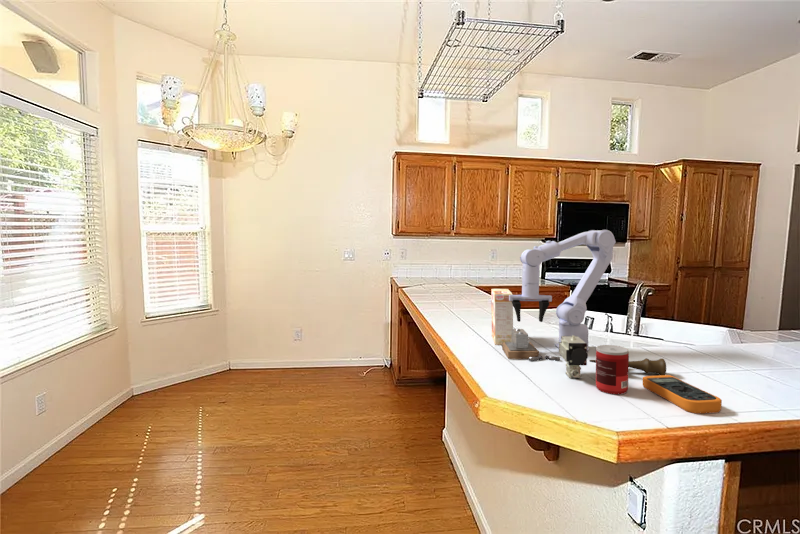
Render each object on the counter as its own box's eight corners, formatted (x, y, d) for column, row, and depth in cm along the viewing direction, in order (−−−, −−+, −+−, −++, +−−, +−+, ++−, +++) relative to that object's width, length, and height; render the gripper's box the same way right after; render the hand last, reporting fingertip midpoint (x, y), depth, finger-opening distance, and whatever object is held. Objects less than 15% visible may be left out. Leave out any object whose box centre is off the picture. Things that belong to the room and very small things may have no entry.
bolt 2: (559, 362, 135) (560, 358, 136) (558, 360, 134) (559, 356, 135) (546, 359, 138) (547, 356, 139) (544, 358, 137) (545, 354, 138)
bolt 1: (539, 359, 138) (540, 355, 138) (542, 361, 137) (542, 357, 136) (528, 360, 137) (528, 356, 136) (530, 362, 135) (531, 358, 135)
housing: (528, 348, 140) (528, 333, 140) (516, 348, 140) (515, 333, 140) (522, 342, 148) (522, 328, 148) (511, 342, 148) (511, 328, 148)
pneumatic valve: (575, 370, 126) (576, 331, 125) (588, 383, 114) (588, 340, 113) (556, 369, 127) (556, 331, 126) (567, 383, 115) (567, 340, 114)
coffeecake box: (491, 335, 171) (490, 288, 170) (508, 335, 170) (508, 288, 169) (494, 345, 156) (493, 293, 155) (513, 345, 155) (513, 293, 154)
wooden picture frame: (530, 349, 150) (530, 341, 149) (539, 359, 138) (539, 350, 137) (502, 349, 150) (502, 341, 150) (508, 359, 138) (508, 350, 138)
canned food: (625, 385, 112) (625, 345, 112) (630, 396, 105) (631, 353, 104) (593, 382, 115) (594, 343, 114) (597, 393, 107) (598, 351, 107)
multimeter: (690, 416, 94) (691, 401, 93) (640, 387, 112) (640, 375, 111) (727, 414, 94) (727, 399, 94) (670, 386, 112) (671, 373, 112)
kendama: (669, 383, 115) (590, 375, 121) (659, 372, 124) (587, 366, 130) (670, 361, 115) (591, 355, 121) (660, 353, 124) (587, 347, 130)
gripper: (548, 282, 150) (547, 319, 151) (507, 281, 151) (506, 318, 152) (554, 284, 143) (553, 323, 144) (511, 284, 144) (510, 322, 145)
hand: (529, 321), depth 148 cm, fingers open, 7 cm apart
